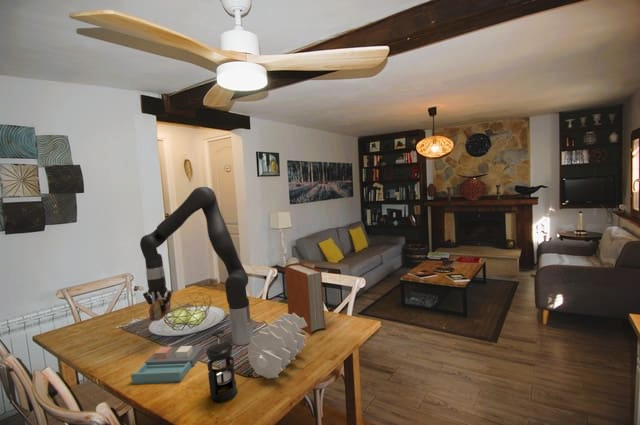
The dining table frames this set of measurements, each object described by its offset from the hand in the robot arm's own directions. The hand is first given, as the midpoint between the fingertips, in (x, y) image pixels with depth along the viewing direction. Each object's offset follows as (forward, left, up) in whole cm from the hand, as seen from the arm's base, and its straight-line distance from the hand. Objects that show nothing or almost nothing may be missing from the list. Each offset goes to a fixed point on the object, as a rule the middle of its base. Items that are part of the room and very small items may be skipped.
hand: (160, 312), depth 156 cm
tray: (-12, +24, -17) cm, 32 cm away
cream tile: (-16, +14, -14) cm, 26 cm away
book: (-66, -16, -17) cm, 70 cm away
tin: (0, 0, -2) cm, 3 cm away
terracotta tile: (-7, +14, -14) cm, 21 cm away
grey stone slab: (-12, +13, -17) cm, 24 cm away
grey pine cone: (-58, +20, -17) cm, 64 cm away
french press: (-41, +38, -17) cm, 58 cm away
